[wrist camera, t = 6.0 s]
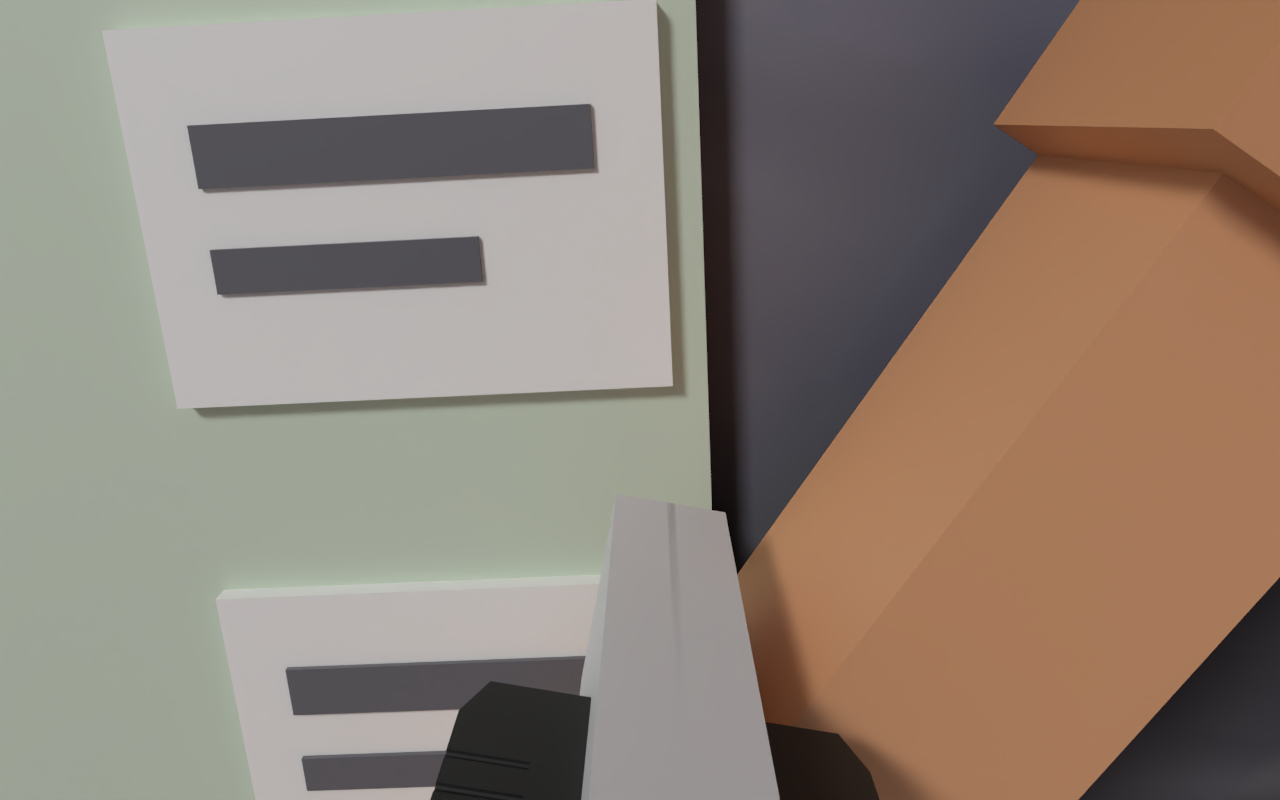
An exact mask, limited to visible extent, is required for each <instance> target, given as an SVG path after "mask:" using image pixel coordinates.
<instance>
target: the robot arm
mask: <svg viewBox="0 0 1280 800" xmlns="http://www.w3.org/2000/svg"><path fill="white" fill-rule="evenodd" d="M430 800H880V799H879V796H878V793H877V790H876V787H875V784H874V781H873V779H872V776H871V773H870V771H869V770H868V769H867V768H866V766H865V765H864V764H863V763H862V762H861V760H860V759H859V758H858V757H857V756H856V754H855V753H854V752H853V751H852V750H851V749H850V747H849V746H848V745H847V744H846V743H845V741H844V740H843V739H842V738H841V737H840V735H839V734H837V733H830V732H824V731H818V730H812V729H806V728H799V727H793V726H787V725H781V724H775V723H768V722H765V718H764V713H763V708H762V702H761V697H760V692H759V687H758V681H757V676H756V671H755V666H754V660H753V655H752V650H751V645H750V639H749V634H748V629H747V624H746V618H745V613H744V608H743V602H742V597H741V592H740V587H739V581H738V576H737V571H736V566H735V560H734V555H733V550H732V545H731V539H730V534H729V529H728V523H727V518H726V513H725V512H720V511H714V510H708V509H702V508H697V507H691V506H685V505H679V504H674V503H668V502H662V501H656V500H650V499H645V498H639V497H633V496H627V495H621V494H616V496H615V502H614V507H613V512H612V518H611V523H610V528H609V534H608V539H607V544H606V550H605V555H604V560H603V566H602V571H601V576H600V582H599V587H598V593H597V598H596V603H595V609H594V614H593V619H592V625H591V630H590V635H589V641H588V646H587V651H586V657H585V662H584V667H583V673H582V679H581V687H580V695H574V694H567V693H561V692H555V691H549V690H543V689H537V688H530V687H524V686H518V685H512V684H506V683H499V682H493V681H490V682H489V683H488V684H487V685H486V686H485V687H484V688H482V689H481V690H480V691H479V692H478V693H477V694H476V695H475V696H474V697H473V698H472V699H470V700H469V701H468V702H467V703H466V704H465V705H464V706H463V707H462V708H461V709H460V710H459V712H458V715H457V718H456V721H455V724H454V727H453V730H452V734H451V737H450V740H449V743H448V746H447V749H446V755H445V757H444V759H443V762H442V765H441V768H440V771H439V774H438V777H437V780H436V785H435V789H434V791H433V793H432V796H431V799H430Z"/></svg>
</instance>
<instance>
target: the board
mask: <svg viewBox="0 0 1280 800" xmlns="http://www.w3.org/2000/svg"><path fill="white" fill-rule="evenodd" d="M610 1H627V0H0V800H255V795H254V790H253V785H252V780H251V775H250V770H249V765H248V760H247V755H246V750H245V745H244V740H243V735H242V730H241V725H240V720H239V715H238V710H237V705H236V700H235V695H234V690H233V685H232V680H231V675H230V670H229V665H228V660H227V655H226V650H225V645H224V640H223V635H222V630H221V625H220V620H219V615H218V610H217V605H216V600H215V599H216V598H217V597H218V596H219V595H220V594H221V593H222V592H223V591H224V590H235V589H260V588H284V587H309V586H333V585H358V584H383V583H407V582H432V581H456V580H481V579H506V578H530V577H555V576H579V575H601V571H602V566H603V560H604V555H605V550H606V544H607V539H608V534H609V528H610V523H611V518H612V512H613V507H614V502H615V496H616V494H621V495H627V496H633V497H639V498H645V499H650V500H656V501H662V502H668V503H674V504H679V505H685V506H691V507H697V508H702V509H708V510H712V497H711V466H710V434H709V403H708V372H707V341H706V310H705V278H704V247H703V216H702V185H701V154H700V122H699V91H698V60H697V29H696V0H656V3H657V26H658V50H659V73H660V96H661V119H662V143H663V166H664V189H665V212H666V236H667V259H668V282H669V305H670V329H671V352H672V375H673V386H665V387H643V388H621V389H599V390H578V391H556V392H534V393H512V394H491V395H469V396H447V397H425V398H403V399H382V400H360V401H338V402H316V403H295V404H273V405H251V406H229V407H207V408H186V409H177V405H176V400H175V395H174V390H173V385H172V380H171V375H170V370H169V365H168V360H167V355H166V350H165V345H164V340H163V335H162V330H161V325H160V320H159V315H158V310H157V305H156V300H155V295H154V290H153V285H152V280H151V275H150V270H149V265H148V260H147V255H146V249H145V244H144V239H143V234H142V229H141V224H140V219H139V214H138V209H137V204H136V199H135V194H134V189H133V184H132V179H131V174H130V169H129V164H128V159H127V154H126V149H125V144H124V139H123V134H122V129H121V124H120V119H119V114H118V109H117V104H116V99H115V94H114V89H113V84H112V79H111V74H110V69H109V64H108V59H107V54H106V49H105V44H104V39H103V34H102V30H118V29H136V28H153V27H171V26H188V25H206V24H224V23H241V22H259V21H276V20H294V19H311V18H329V17H346V16H364V15H382V14H399V13H417V12H434V11H452V10H469V9H487V8H504V7H522V6H540V5H557V4H575V3H592V2H610Z"/></svg>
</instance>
